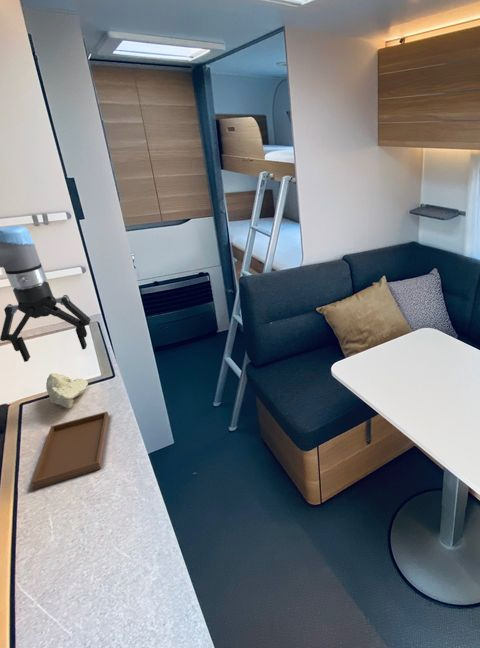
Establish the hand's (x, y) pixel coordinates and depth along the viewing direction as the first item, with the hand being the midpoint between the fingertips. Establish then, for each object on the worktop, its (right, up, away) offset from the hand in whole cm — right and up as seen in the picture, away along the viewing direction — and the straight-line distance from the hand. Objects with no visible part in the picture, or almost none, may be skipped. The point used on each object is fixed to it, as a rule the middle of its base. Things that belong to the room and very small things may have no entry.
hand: (56, 353), depth 117 cm
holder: (+14, -23, -11) cm, 29 cm away
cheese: (0, -16, +7) cm, 17 cm away
